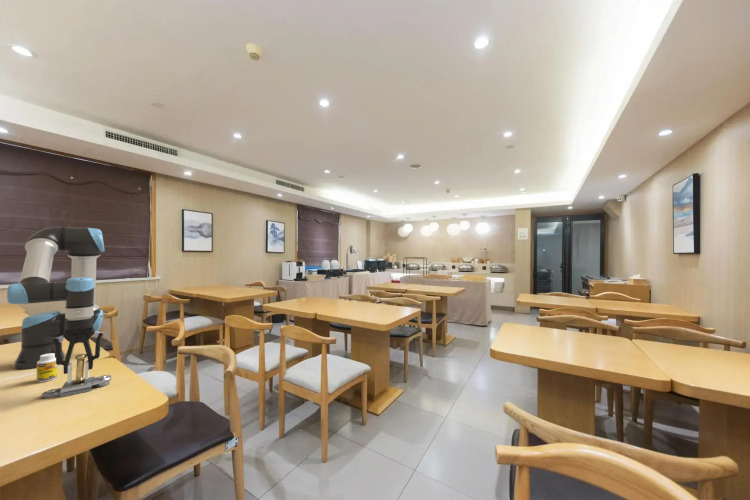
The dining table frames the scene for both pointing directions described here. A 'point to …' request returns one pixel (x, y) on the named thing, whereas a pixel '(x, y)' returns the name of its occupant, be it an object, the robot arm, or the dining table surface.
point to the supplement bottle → (46, 368)
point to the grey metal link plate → (77, 387)
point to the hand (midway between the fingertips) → (78, 379)
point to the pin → (80, 368)
